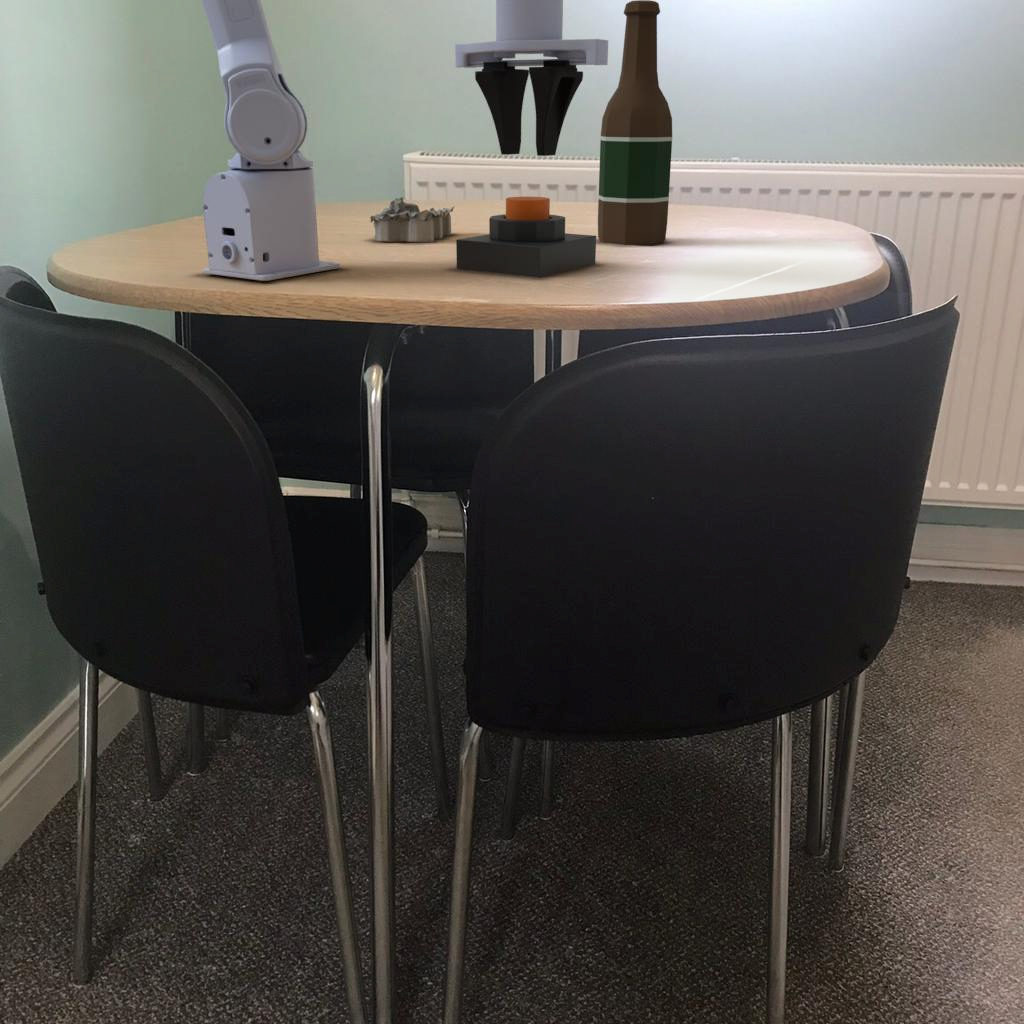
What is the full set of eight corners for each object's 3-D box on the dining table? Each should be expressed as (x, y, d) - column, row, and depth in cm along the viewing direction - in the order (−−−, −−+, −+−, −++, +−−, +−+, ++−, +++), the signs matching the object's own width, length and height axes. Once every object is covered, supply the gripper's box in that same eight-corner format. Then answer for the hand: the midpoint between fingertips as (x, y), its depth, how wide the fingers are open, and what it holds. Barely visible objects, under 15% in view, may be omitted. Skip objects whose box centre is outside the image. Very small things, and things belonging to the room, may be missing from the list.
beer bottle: (589, 244, 110) (597, -2, 102) (604, 236, 117) (612, 5, 108) (660, 247, 108) (674, -4, 99) (671, 238, 115) (685, 4, 106)
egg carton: (401, 232, 121) (400, 196, 120) (460, 234, 119) (460, 198, 118) (364, 241, 112) (362, 203, 110) (427, 244, 110) (426, 205, 108)
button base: (539, 278, 88) (540, 225, 87) (456, 269, 93) (455, 218, 91) (595, 264, 96) (597, 215, 94) (516, 257, 101) (516, 210, 99)
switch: (534, 224, 90) (534, 201, 90) (497, 222, 92) (497, 198, 92) (557, 221, 94) (557, 197, 93) (521, 218, 96) (521, 195, 95)
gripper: (627, -16, 85) (620, 155, 90) (486, -7, 93) (487, 151, 98) (586, -25, 80) (581, 158, 85) (439, -14, 87) (443, 153, 92)
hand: (528, 155), depth 91 cm, fingers open, 3 cm apart
